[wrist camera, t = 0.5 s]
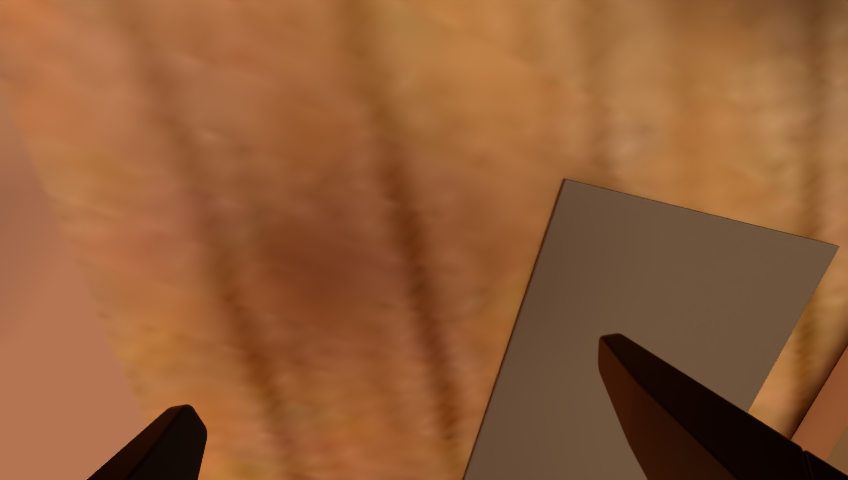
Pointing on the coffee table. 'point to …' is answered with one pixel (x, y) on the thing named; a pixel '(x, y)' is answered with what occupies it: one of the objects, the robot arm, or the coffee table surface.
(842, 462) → the lid
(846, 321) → the coffee table surface
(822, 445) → the box
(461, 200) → the coffee table surface
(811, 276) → the mat
